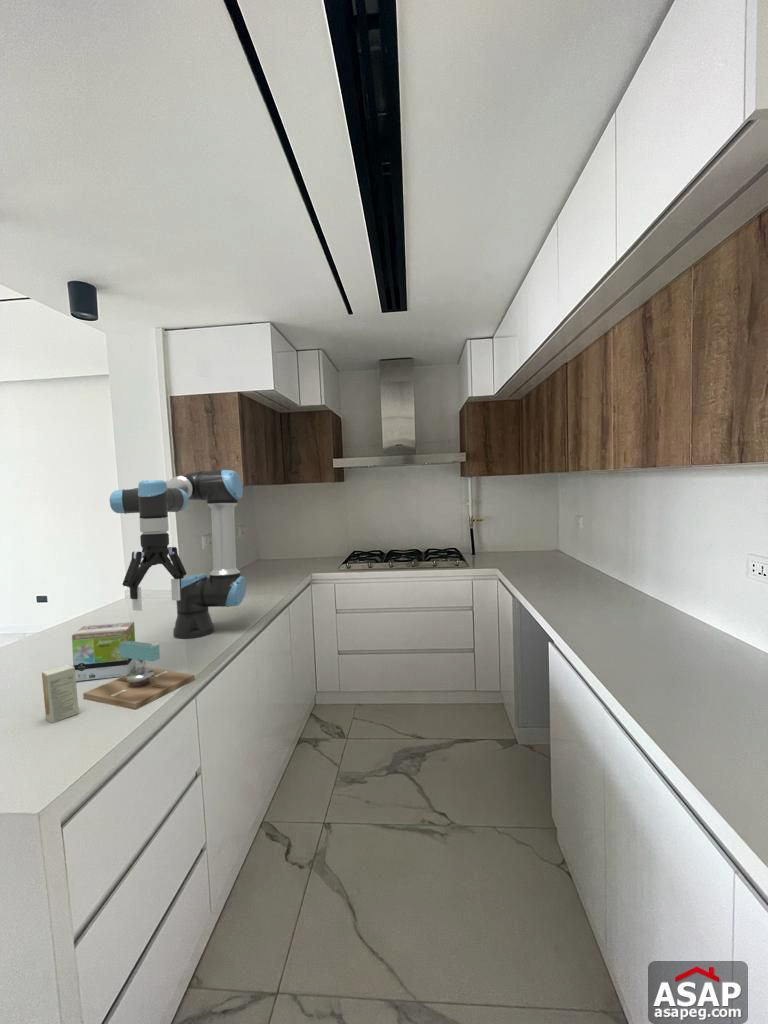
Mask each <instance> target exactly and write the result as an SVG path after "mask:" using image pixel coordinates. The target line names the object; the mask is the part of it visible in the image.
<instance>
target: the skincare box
mask: <svg viewBox="0 0 768 1024" xmlns="http://www.w3.org/2000/svg"><path fill="white" fill-rule="evenodd" d="M41 677H42V680H41V681H42V688H43V690H42V691H43V699H44V700H43V701H44V710H45V711H44V712H45V719H46V720H47V721H48V722H49V723H50V724H53V723H55V722H58V721H62V720H64V719H67V718H69V717H73V716H75V715H78V714H79V713H80V712H79V701H78V691H77V690H78V689H77V682H76V677H75V667H73V665H72V664H70V663H68V664H65V665H64V664H63V665H61V666H58V667H57V666H56V667H54V668H51V669H47V670H43V671H41Z"/></svg>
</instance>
